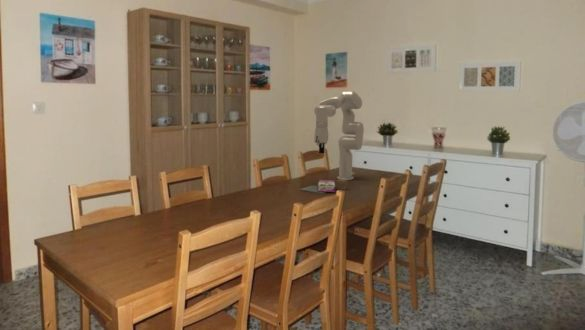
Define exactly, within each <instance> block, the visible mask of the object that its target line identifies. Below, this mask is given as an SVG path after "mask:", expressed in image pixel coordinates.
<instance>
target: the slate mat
mask: <svg viewBox="0 0 585 330" xmlns="http://www.w3.org/2000/svg"><path fill="white" fill-rule="evenodd" d="M299 191H302V192H303V191H304V192H309V193H314V194H321V195H323V194H326V193H327V192H318V185H309V186H306V187H302V188H299Z"/></svg>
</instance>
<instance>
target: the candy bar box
mask: <svg viewBox="0 0 585 330" xmlns="http://www.w3.org/2000/svg"><path fill="white" fill-rule="evenodd" d="M317 186H318V192H326V193H336V180H335V179H318V180H317Z"/></svg>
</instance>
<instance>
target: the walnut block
mask: <svg viewBox="0 0 585 330" xmlns="http://www.w3.org/2000/svg"><path fill="white" fill-rule="evenodd" d="M347 189H348V180H343V179H337V180H335V191H336V190H337V191H338V190H339V191H346V190H347Z"/></svg>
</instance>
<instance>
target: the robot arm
mask: <svg viewBox="0 0 585 330" xmlns="http://www.w3.org/2000/svg"><path fill="white" fill-rule="evenodd" d="M362 106H363V100H362V97H360V96H359V94H358V93H356V92H355V91H354V90H340V91H338V92H337V93H336V94H334V95H333V96H332V97H331V98H330V97H329V98H327V99H325V100H321V101H320V102H319V103H317V104H316V106H315V107H314V110H313V112H314V115H315V129H314V139H313V140H314V143H316V146H318V153H319V154H325V147H326V145H327V144H328V141H329V130H328V128H329V127H328V126H329V125H328V120H329V119H328V118H329V117H330V118H331V117H332V118H333V117H334V116H335V115H336V113H337V109H341V112H342V126H341V132H342V133H343V134H344V135H343V136H340V137H339V139H338V141H337V143H338V150H339V151H338V152H339V157H338V158H339V161H338V162H339V167H338V169H339V170H338V174H339V175H338V176H336V179H337V180H338V179H343V180H347V181H351V180H354V179H355V177H354V176H353V175H355V172H354V171H353V152H352V151H351V150H355V151H359V150H361V149H362V147H363V141H364V131H365V128H364V124H363V123H362V122H360V121H355V118H356V116H355V115H356V114H355V112H354V111H353V110H359V109H361V108H362ZM349 135H350V136H349ZM351 135H353V136H351Z"/></svg>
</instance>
